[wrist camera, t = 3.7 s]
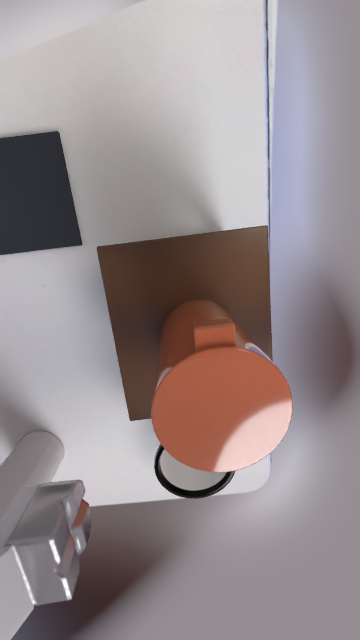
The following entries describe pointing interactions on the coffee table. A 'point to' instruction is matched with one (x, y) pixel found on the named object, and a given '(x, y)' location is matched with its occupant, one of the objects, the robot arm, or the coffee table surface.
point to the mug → (187, 477)
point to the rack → (181, 295)
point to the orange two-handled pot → (216, 392)
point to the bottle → (29, 465)
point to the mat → (35, 195)
